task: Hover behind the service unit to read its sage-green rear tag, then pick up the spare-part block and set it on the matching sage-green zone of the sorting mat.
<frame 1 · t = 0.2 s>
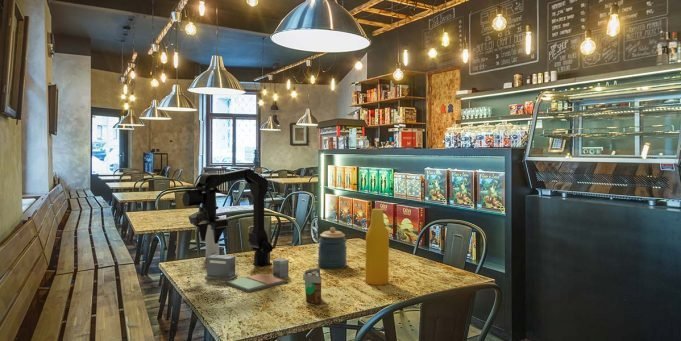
hand: (209, 242, 192), 14 cm above the table, fingers open, 9 cm apart
beer bottle: (376, 282, 185), on the table
sorting board: (256, 283, 182), on the table
canister: (332, 266, 211), on the table
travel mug: (212, 259, 223), on the table
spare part: (280, 276, 192), on the table
food container: (311, 301, 161), on the table
service unit: (221, 277, 190), on the table
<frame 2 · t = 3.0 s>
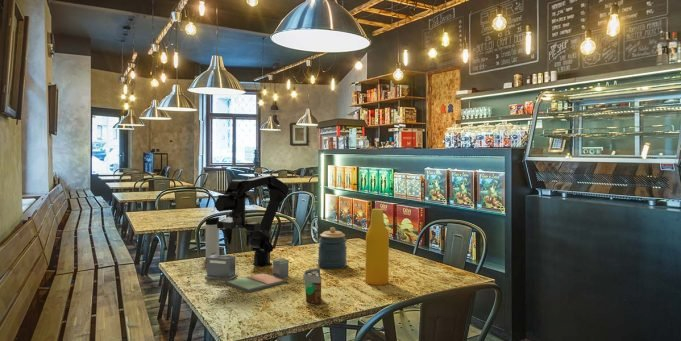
hand: (238, 245, 200), 11 cm above the table, fingers open, 9 cm apart
nothing on the table moved.
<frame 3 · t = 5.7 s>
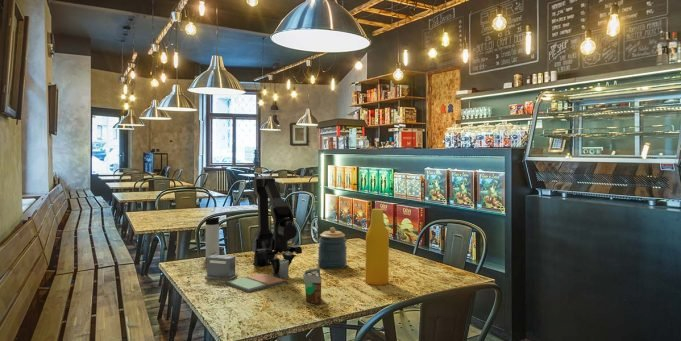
hand: (280, 272, 192), 2 cm above the table, fingers closed on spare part, 4 cm apart
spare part: (280, 276, 192), on the table, touching gripper
everything else where it was.
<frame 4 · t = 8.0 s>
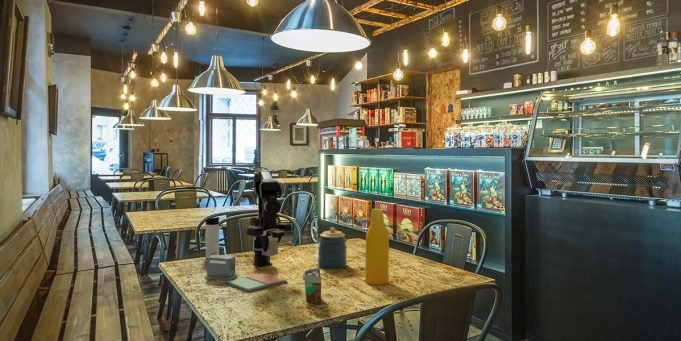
hand: (269, 250, 187), 12 cm above the table, fingers closed on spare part, 4 cm apart
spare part: (269, 254, 187), point 10 cm above the table, touching gripper
everything else where it was.
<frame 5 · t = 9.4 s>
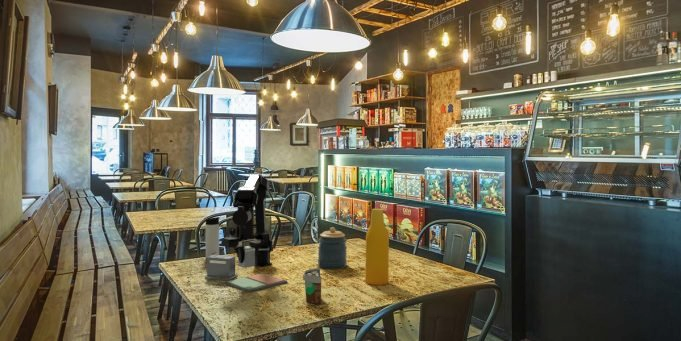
hand: (246, 261, 178), 9 cm above the table, fingers closed on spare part, 4 cm apart
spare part: (246, 265, 178), point 8 cm above the table, touching gripper
everything else where it was.
when the fingers open (4 cm above the table, at t = 10.6 s): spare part drops 2 cm, resting on sorting board.
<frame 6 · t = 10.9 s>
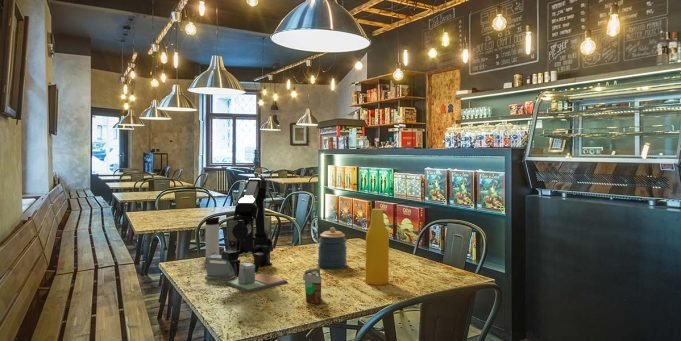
hand: (246, 274, 178), 4 cm above the table, fingers open, 8 cm apart
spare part: (246, 282, 179), point 1 cm above the table, touching sorting board
everything else where it was.
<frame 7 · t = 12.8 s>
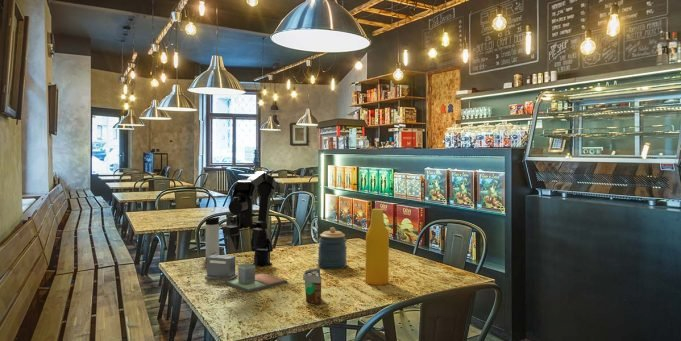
hand: (246, 248, 193), 11 cm above the table, fingers open, 9 cm apart
nothing on the table moved.
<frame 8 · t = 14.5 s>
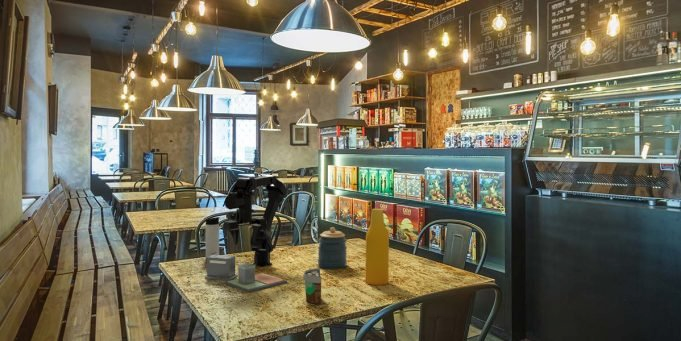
hand: (245, 243, 200), 12 cm above the table, fingers open, 9 cm apart
nothing on the table moved.
at the end: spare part inside the target area on the sorting board (0.1 cm from its centre), point 1.1 cm above the sorting board's base; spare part tilted 0°; the gripper is holding nothing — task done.
